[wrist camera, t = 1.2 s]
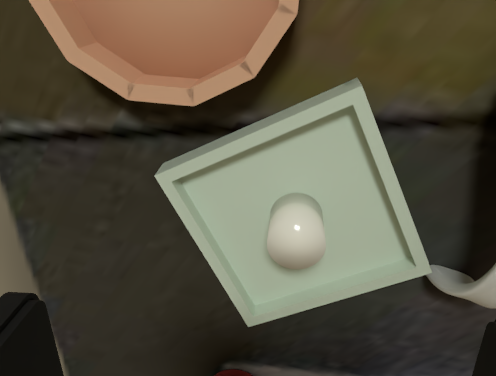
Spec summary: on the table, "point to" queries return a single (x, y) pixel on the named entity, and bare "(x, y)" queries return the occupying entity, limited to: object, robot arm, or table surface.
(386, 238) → the tray
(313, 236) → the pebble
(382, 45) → the table surface
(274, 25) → the bowl
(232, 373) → the smoothie
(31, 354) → the robot arm
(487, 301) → the spoon rest
